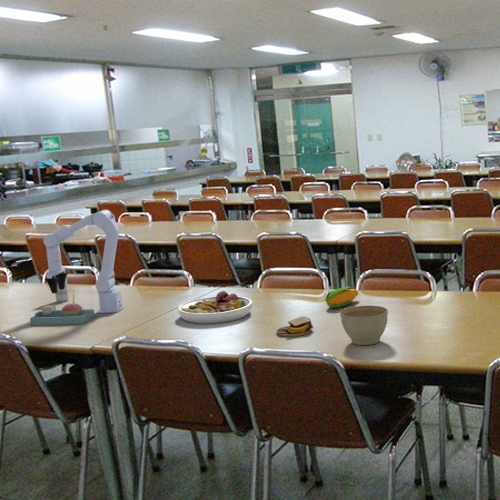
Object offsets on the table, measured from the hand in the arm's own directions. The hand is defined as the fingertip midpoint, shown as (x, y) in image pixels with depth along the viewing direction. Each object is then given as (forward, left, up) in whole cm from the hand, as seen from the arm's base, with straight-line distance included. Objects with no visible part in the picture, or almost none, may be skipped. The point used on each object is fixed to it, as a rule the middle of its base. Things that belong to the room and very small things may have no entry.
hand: (58, 291), depth 343 cm
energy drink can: (+10, -24, -10) cm, 28 cm away
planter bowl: (-137, +52, -10) cm, 147 cm away
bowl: (-74, +11, -10) cm, 75 cm away
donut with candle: (-12, +13, -10) cm, 20 cm away
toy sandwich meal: (-110, +38, -10) cm, 117 cm away
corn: (-124, -2, -10) cm, 125 cm away
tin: (-1, +13, -10) cm, 17 cm away
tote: (-7, +13, -10) cm, 18 cm away
